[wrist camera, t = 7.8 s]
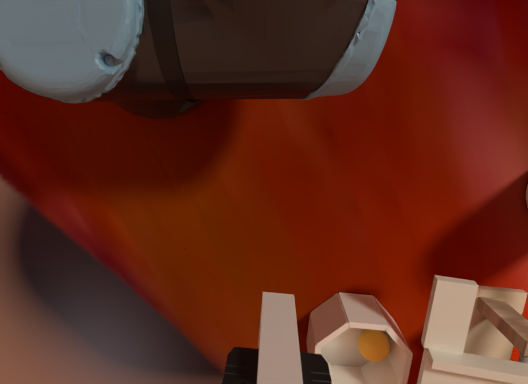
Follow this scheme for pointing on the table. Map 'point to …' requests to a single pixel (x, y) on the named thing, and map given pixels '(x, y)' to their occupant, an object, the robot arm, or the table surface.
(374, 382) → the cup
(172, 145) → the table surface
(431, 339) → the seesaw chute
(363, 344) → the ball
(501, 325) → the chute stand
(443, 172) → the table surface
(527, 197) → the supplement tub
